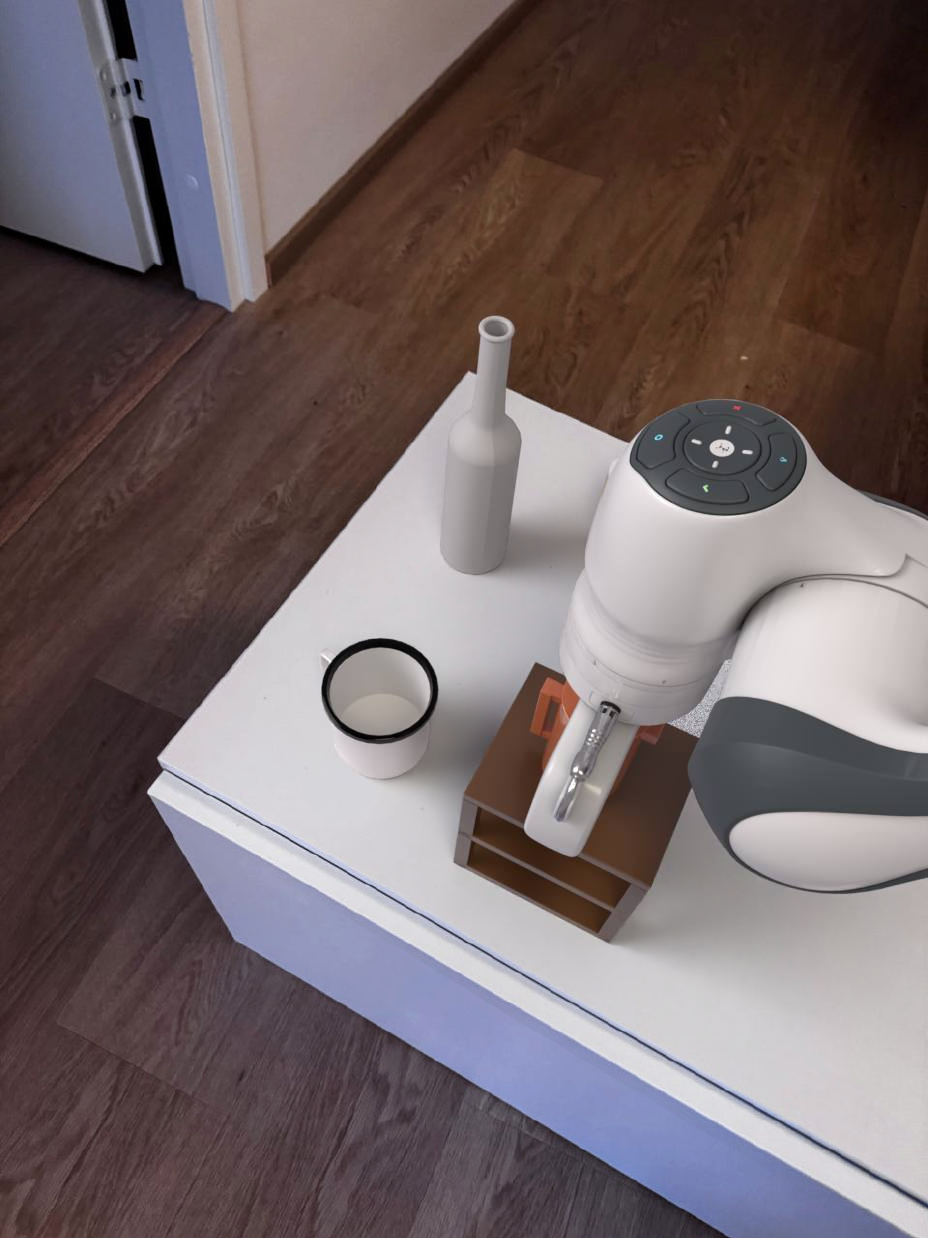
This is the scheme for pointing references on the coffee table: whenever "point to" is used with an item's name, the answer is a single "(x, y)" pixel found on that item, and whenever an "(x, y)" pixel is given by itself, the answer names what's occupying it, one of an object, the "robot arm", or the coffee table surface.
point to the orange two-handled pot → (563, 713)
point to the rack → (618, 844)
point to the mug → (379, 705)
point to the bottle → (482, 463)
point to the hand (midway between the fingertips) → (598, 747)
